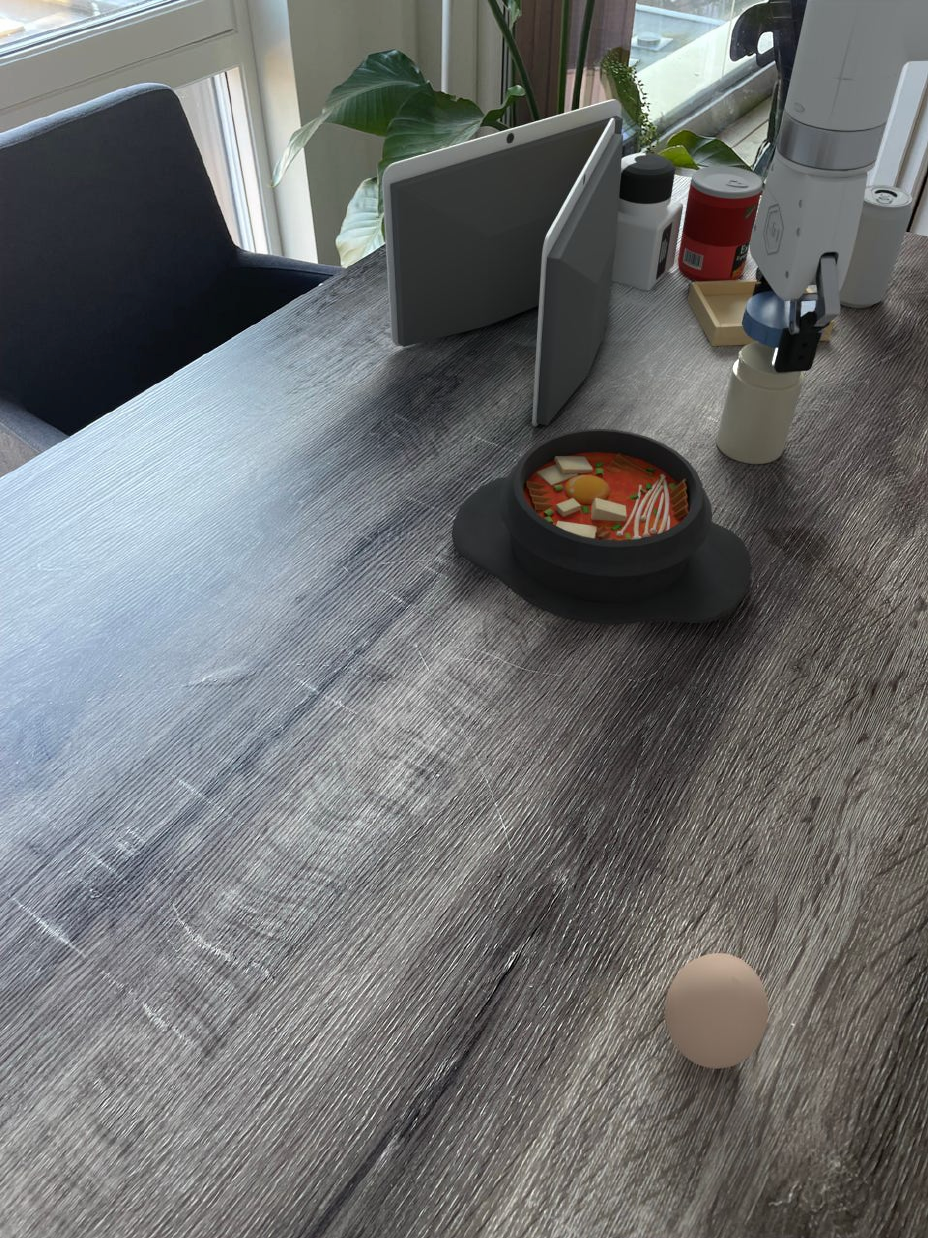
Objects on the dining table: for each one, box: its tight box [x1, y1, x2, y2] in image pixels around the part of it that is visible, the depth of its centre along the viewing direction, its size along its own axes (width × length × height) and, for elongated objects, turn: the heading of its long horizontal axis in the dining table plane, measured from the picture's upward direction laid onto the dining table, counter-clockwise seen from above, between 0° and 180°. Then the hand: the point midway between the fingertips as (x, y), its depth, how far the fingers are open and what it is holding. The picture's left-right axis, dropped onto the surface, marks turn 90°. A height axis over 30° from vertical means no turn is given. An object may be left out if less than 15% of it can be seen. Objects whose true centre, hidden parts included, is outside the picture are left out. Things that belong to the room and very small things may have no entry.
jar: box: [715, 342, 805, 465], centre depth 93 cm, size 6×6×10 cm
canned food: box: [677, 165, 763, 282], centre depth 117 cm, size 8×8×11 cm
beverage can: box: [839, 184, 913, 309], centre depth 112 cm, size 6×6×12 cm
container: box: [612, 152, 684, 292], centre depth 115 cm, size 8×8×13 cm
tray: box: [687, 278, 835, 347], centre depth 112 cm, size 13×10×2 cm
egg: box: [664, 952, 769, 1070], centre depth 53 cm, size 5×5×8 cm
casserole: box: [451, 428, 753, 626], centre depth 81 cm, size 25×19×8 cm
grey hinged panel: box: [381, 98, 624, 427], centre depth 103 cm, size 35×22×20 cm, turn 165°
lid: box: [742, 291, 823, 348], centre depth 87 cm, size 7×7×2 cm
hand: (777, 345), depth 89 cm, fingers closed on lid, 6 cm apart
